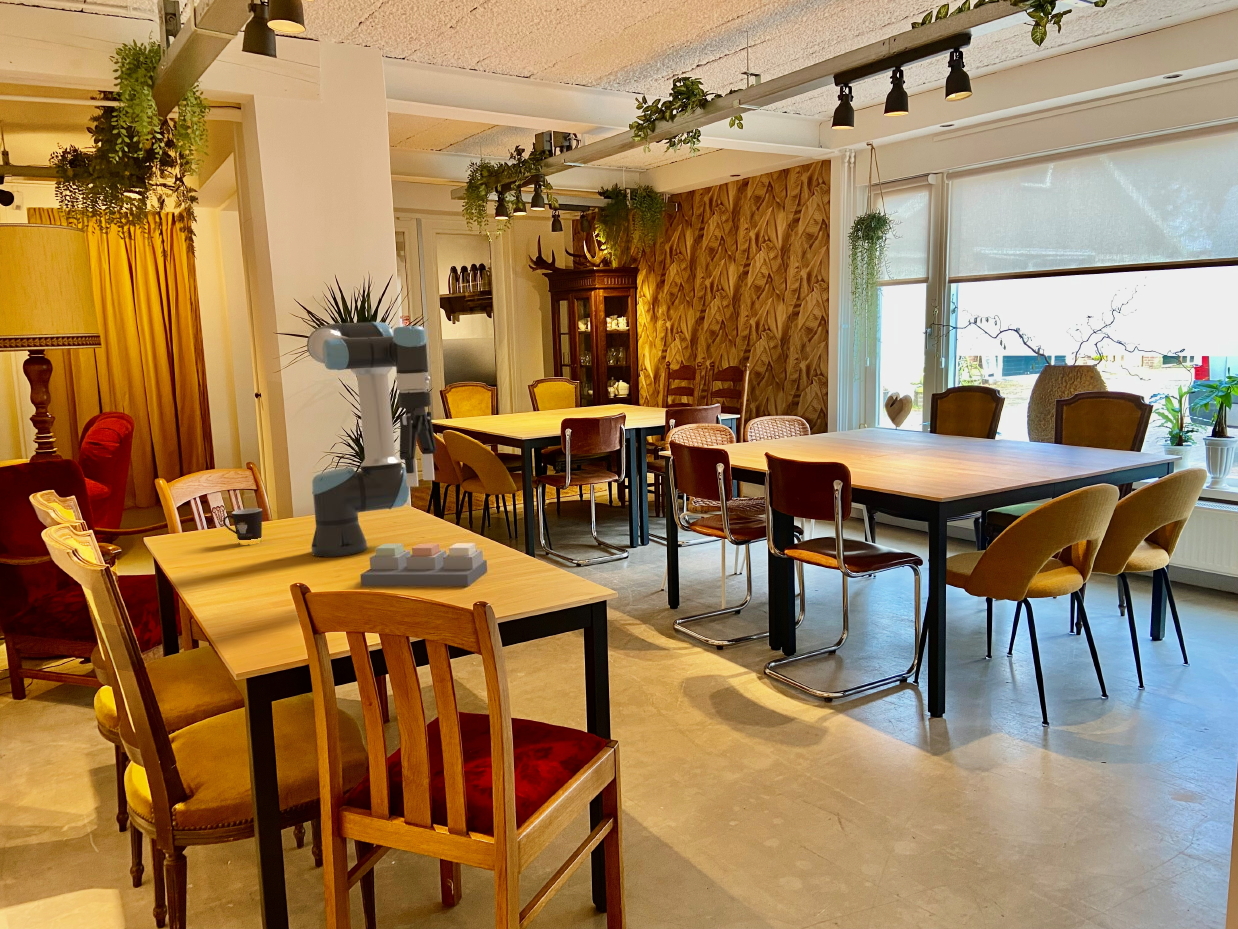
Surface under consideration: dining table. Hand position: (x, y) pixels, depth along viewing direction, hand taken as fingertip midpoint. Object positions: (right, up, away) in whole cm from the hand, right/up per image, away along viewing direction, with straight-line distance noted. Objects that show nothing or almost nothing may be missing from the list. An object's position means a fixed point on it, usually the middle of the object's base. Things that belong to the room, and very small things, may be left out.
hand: (420, 483), depth 216 cm
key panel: (+1, -24, +2) cm, 24 cm away
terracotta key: (+1, -19, +2) cm, 19 cm away
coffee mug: (-66, -20, +56) cm, 89 cm away
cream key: (+10, -18, +1) cm, 21 cm away
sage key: (-9, -19, +4) cm, 21 cm away
